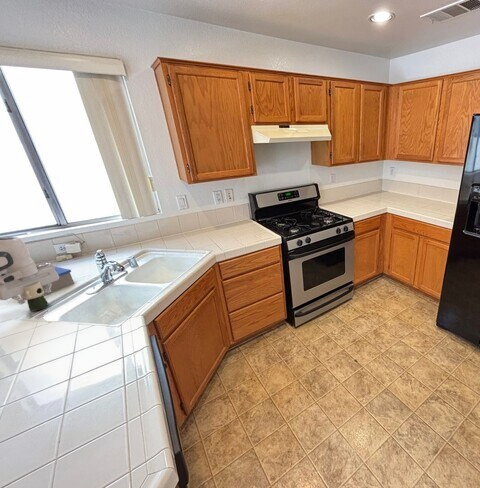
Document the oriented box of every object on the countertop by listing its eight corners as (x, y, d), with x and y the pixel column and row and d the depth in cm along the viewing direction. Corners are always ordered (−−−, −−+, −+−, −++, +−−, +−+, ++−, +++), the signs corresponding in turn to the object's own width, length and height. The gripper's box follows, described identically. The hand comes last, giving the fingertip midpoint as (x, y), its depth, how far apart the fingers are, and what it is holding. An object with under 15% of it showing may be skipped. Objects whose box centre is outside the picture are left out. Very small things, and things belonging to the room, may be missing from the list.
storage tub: (41, 296, 133) (34, 282, 130) (24, 292, 137) (17, 278, 134) (76, 282, 146) (70, 269, 143) (59, 279, 151) (53, 266, 148)
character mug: (47, 311, 121) (35, 286, 116) (25, 316, 117) (12, 291, 112) (53, 300, 129) (42, 277, 125) (33, 305, 125) (21, 281, 121)
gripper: (47, 260, 126) (59, 285, 131) (-15, 280, 108) (1, 308, 113) (56, 262, 124) (67, 287, 129) (-6, 282, 106) (9, 311, 111)
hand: (36, 297), depth 121 cm, fingers open, 8 cm apart
